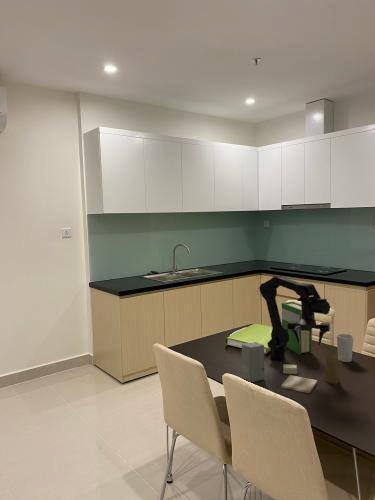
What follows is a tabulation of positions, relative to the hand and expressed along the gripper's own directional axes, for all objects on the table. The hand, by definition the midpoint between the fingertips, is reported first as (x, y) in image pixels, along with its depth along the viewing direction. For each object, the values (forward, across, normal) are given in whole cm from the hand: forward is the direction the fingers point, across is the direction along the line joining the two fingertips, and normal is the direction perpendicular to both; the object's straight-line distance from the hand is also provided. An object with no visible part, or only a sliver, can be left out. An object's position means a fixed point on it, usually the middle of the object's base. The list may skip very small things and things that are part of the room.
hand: (309, 344), depth 185 cm
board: (+13, -2, -18) cm, 22 cm away
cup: (+13, +13, +21) cm, 28 cm away
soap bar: (+13, -8, -5) cm, 16 cm away
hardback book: (+12, -12, +29) cm, 33 cm away
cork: (+13, +10, -8) cm, 19 cm away
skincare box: (+12, -22, -19) cm, 31 cm away
